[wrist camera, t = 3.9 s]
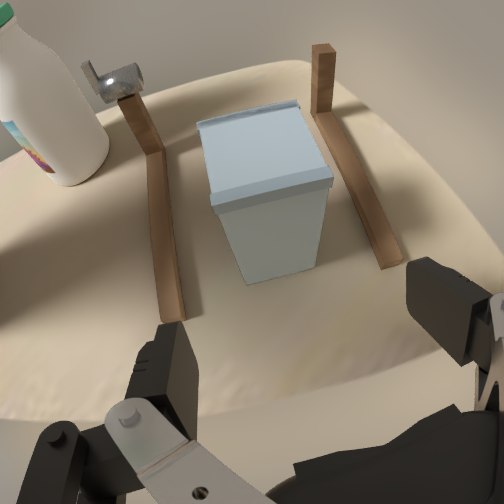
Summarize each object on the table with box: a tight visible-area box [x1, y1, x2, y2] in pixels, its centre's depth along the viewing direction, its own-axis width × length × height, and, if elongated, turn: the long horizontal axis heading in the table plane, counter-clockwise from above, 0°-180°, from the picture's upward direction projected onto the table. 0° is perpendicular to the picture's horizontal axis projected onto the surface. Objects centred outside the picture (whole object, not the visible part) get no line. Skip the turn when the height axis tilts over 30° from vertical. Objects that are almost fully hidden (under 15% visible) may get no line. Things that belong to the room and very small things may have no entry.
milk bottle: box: [0, 3, 109, 186], centre depth 21 cm, size 8×8×20 cm
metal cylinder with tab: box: [81, 60, 144, 104], centre depth 20 cm, size 4×2×4 cm, turn 103°
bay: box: [117, 44, 403, 323], centre depth 22 cm, size 18×17×8 cm
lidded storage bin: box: [196, 100, 334, 285], centre depth 19 cm, size 5×5×11 cm
